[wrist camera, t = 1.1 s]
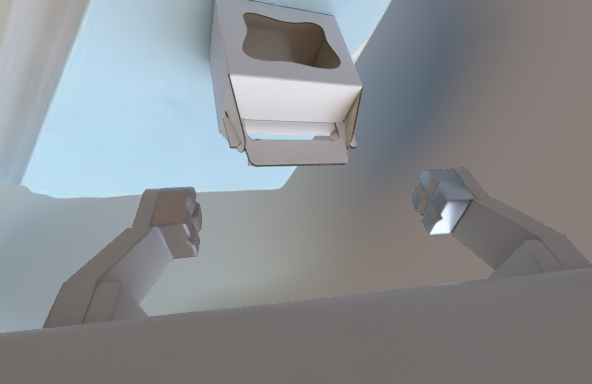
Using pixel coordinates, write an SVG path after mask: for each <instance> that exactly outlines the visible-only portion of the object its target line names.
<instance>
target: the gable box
mask: <svg viewBox="0 0 592 384" xmlns="http://www.w3.org/2000/svg"><path fill="white" fill-rule="evenodd" d="M209 61H210V69H211V77H212V84H213V92H214V99H215V107H216V114H217V122H218V129H219V133H220V134H221V135H222V136H223V137H224V138H225V139H226V140H227V141H228V142H229V146H230V148H236V149H237V150H238V151H239V152H240V153H242V152H244V151H246V154H247V157H248V165H253V166H256V167H265V166H307V165H308V166H309V165H344V164H346V163H347V161H348V154H347V149H348V148H349V147H350V148H356V147H357V145H356V141H355V138H354V129H355V123H356V119H357V114H358V108H359V104H360V99H361V93H362V88H363V86H362V84H361V81H360V79H359V77H358V74H357V72H356V69H355V66H354V64H353V61H352V59H351V56H350V54H349V51H348V49H347V46H346V44H345V41H344V39H343V36H342V34H341V31H340V29H339V26H338V24H337V21H336V19H335V17H334V16H329V15H324V14H318V13H313V12H308V11H302V10H297V9H292V8H286V7H281V6H276V5H271V4H265V3H260V2H255V1H249V0H214V12H213V24H212V36H211V48H210V60H209ZM345 119H346V122H345ZM247 134H270V135H322V136H324V135H325V136H331V137H332V139H333V140H264V139H260V140H259V139H255V140H253V139H251V138H250V137H249V136H248V135H247Z"/></svg>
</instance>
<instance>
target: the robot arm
mask: <svg viewBox="0 0 592 384" xmlns="http://www.w3.org/2000/svg"><path fill="white" fill-rule="evenodd" d="M419 180H420V182H421V183H420V184H418V185H417V186H416V187H415V188H414V191H413V193H412V201H413V205H414V208H415V209H416V211H417V212H418V213H420V214H421V215H423V217H422V223H423V224H424V226H425V228H426V230H427V232H428V234H429V235H432V234H447V233H451V235H452V236H453V237H455V238H456V239H457V240H458V241H460V242H461V243H462V244H463V245H464V246H466V247H467V248H468V249H469V250H471V251H472V252H473V253H474V254H476V255H477V256H478V257H479V258H481V259H482V260H483V261H484V262H485V263H487V264H488V265H489V266H490V267H492V268H493V269H494V270H495V271H494V272H493V273H492V274H491V275H490V276H489V277H488V279H483V280H474V281H466V282H456V283H447V284H438V285H429V286H420V287H411V288H402V289H393V290H384V291H375V292H367V293H357V294H348V295H340V296H330V297H321V298H313V299H303V300H295V301H286V302H277V303H268V304H259V305H250V306H241V307H232V308H223V309H214V310H205V311H196V312H187V313H178V314H169V315H160V316H151V317H148V315H147V314H146V313H145V312H144V311H143V309H142V308H141V307H140V306H139V304H140V303H141V301H142V300H143V299H144V297H145V296H146V295H147V293H148V292H149V291H150V289H151V288H152V287H153V286H154V284H155V283H156V282H157V280H158V279H159V278H160V276H161V275H162V274H163V272H164V271H165V270H166V268H167V267H168V266H169V264H170V263H171V262H172V259H178V258H187V257H195V256H198V251H199V243H200V239H199V236H198V232H199V231H200V230H201V227H202V213H201V208H200V205H199V203H198V202H196V192H195V189H194V188H193V187H178V188H162V189H146V190H145V191H144V193H143V196H142V198H141V201H140V204H139V208H138V211H137V214H136V217H135V220H134V223H133V226H132V228H127V229H126V230H124V232H122V233H121V234H120V235H119V236H118V237H116V238H115V239H114V240H113V241H112V242H111V243H110V244H108V245H107V246H106V247H105V248H104V249H103V250H102V251H100V252H99V253H98V254H97V255H96V256H94V257H93V258H92V259H91V260H90V261H89V262H88V263H87V264H85V265H84V266H83V267H82V268H81V269H80V270H78V271H77V272H76V273H75V274H74V275H73V276H71V277H70V278H69V279H68V280H67V281H66V282H65V283H63V284H62V287H61V289H60V291H59V293H58V295H57V297H56V299H55V302H54V304H53V306H52V308H51V310H50V313H49V315H48V317H47V319H46V321H45V323H44V326H43V328H42V329H33V330H24V331H15V332H6V333H0V384H592V264H591V263H590V262H589V261H588V260H587V259H586V258H585V257H584V256H583V255H582V253H581V252H580V251H579V250H578V249H577V248H576V247H575V246H574V245H573V244H572V243H571V241H570V240H569V239H568V238H567V237H566V236H565V235H563V234H561V233H559V232H557V231H556V230H554V229H552V228H550V227H548V226H546V225H544V224H542V223H541V222H539V221H537V220H535V219H533V218H531V217H529V216H528V215H526V214H524V213H522V212H520V211H518V210H516V209H514V208H512V207H511V206H509V205H507V204H505V203H503V202H501V201H499V200H497V199H495V198H490V196H489V195H488V194H487V193H486V192H485V190H484V189H483V188H482V187H481V185H480V184H479V183H478V182H477V180H476V179H475V178H474V177H473V176H472V174H471V173H470V172H469V170H468V169H466V168H464V167H460V168H450V169H437V170H424V171H423V172H422V173H421V174H420V177H419Z"/></svg>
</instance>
